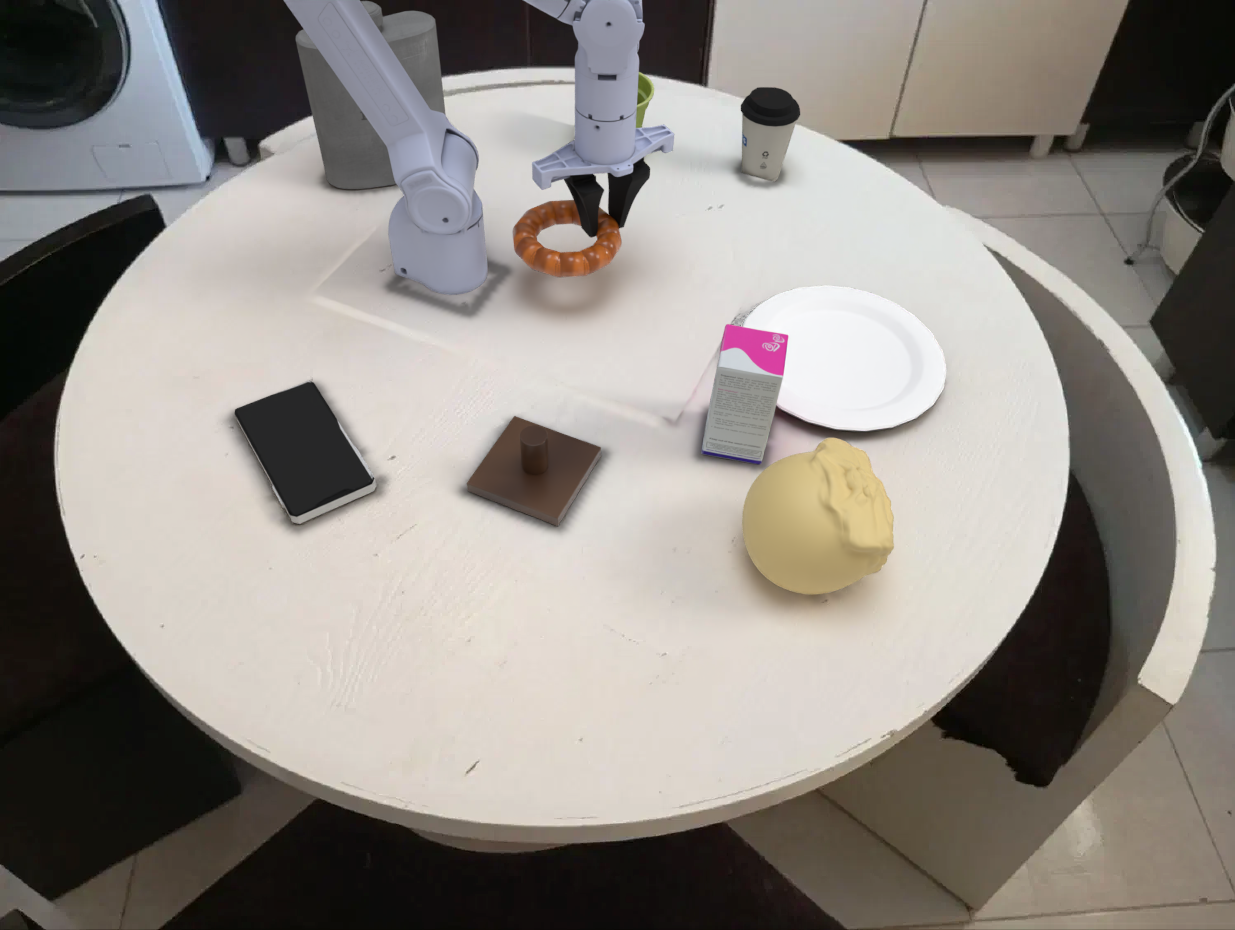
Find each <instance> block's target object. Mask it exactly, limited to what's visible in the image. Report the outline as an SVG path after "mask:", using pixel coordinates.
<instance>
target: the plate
mask: <svg viewBox="0 0 1235 930" xmlns="http://www.w3.org/2000/svg"><path fill="white" fill-rule="evenodd" d="M741 327H746V328H751V329H756V330H762V331H768V332H775V333H781V334H786V335H788V344H787V352H786V360H785V368H784V375H783V380H782V384H781V388H780V392H779V396H778V400H777V404H776V408H777V409H778V410H780V411H782V412H783V413H785V414H788V415H789V416H792V417H794V418H796V419H798V420H800V421H802V422H805V423H807V424H810V425H814V426H819V427H821V428H826V429H829V430H833V431H842V432H857V433H870V432H874V431H875V432H876V431H882V430H891V429H894V428H896V427H900V426H902V425H905V424H907V423H909V422H913V421H915V420H916V419H918V418H919V417H921V416H922V415H923V414H925V412H927V411H928V410H929V409H931V408H932V407H933V406H934V405H935V404H936V402H937V400H938V398H939V397H940V395H941V394H942V392H943V390H944V389H945V383H946V377H947V372H948V368H947V363H946V359H945V354H944V351H943V349H942V346H941V345H940V344H939V342H938V340H937V338H936V336H935V335H934V333H933V332H932V331H931V330H930V329H929V328H928V327H927V325H926V324H924V323H923V321H921V319H919V318H918V316H916V315H915V314H914V313H912V312H910V311H909V310H907V309H906V308H904V307H903V306H901V305H899V303H896V302H895V301H892V300H890V299H887V298H885V297H883V296H880V295H878V294H875V293H873V292H872V291H871V292H870V291H866V290H861V289H857V288H853V287H848V286H842V285H841V286H840V285H839V286H838V285H827V284H826V285H823V284H820V285H819V284H818V285H810V286H803V287H795V288H792V289H789V290H786V291H783V292H780V293H776V294H774V295H772V296H771V297H769V298H768V299H766V300H764V301H762V302H761V303H759V304H757V305H756V306H755V307H754V309H753V310H752V311H751V312H750V313H749V314H748V315H747V317H746V318H745V319H744V320H743V323H742V325H741Z"/></svg>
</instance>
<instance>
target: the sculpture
mask: <svg viewBox="0 0 1235 930" xmlns="http://www.w3.org/2000/svg"><path fill="white" fill-rule="evenodd" d="M894 518H895V517H894V513H893V510H892V501H891V499H890V497H889V496H888V494H887V492H886V488H885V485H884V482H883V481H882V480H881V479H880V478H879V477H877V476H876V474H875V473H874V470H873V467H872V464H871V459H870V457H869V455H868V453H867V452H866V451H865V450H864V449H861V448H859V447H857V446H854V445H853V446H852V445H851V444H850V443H849V442H847V441H845V440H843V439H840V438H836V437H827V438H825V439H823V440H822V441H821V442H820V443H818V445H817V446H816V448H815V449H813V450H812V451H806V452H799V453H795V454H791V455H788V456H785V457H783V458H780V459H778V460H776V461H775V462H773V463H771V464H770V465H768V466H767V467H766V468H765V469H764V470H762V471H761V472H760V473H759V474H758V476H756V478H755V479H754V481H753V482H752V483H751V485H750V487H749V489H748V491H747V494H746V497H745V499H744V503H743V507H742V515H741V529H742V530H741V531H742V536H743V542H744V546H745V548H746V551H747V553H748V556H749V557H750V559H751V561H752V564H754V566H755V567H756V568H757V570H758V571H759V572H760V573H761V574H762V575H763V576H764V577H765V579H767V580H768V581H770V582H771V583H772V584H774V585H776V586H778V587H780V588H782V589H784V590H787V591H790V592H792V593H797V594H803V595H823V594H829V593H833V592H837V591H840V590H842V589H844V588H848V587H849V586H851V585H853V584H855V583H857V582H858V581H860V580H861V579H863V578H865V577H867V576H869V575H872V574H876V573H878V572H880V571H881V570H882V568H883V566H885V565H886V564H887V562H888V558H889V555H890V554H891V553H892V551H893V550H894V548H895V543H894V533H893V532H894V522H895V521H894Z"/></svg>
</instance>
